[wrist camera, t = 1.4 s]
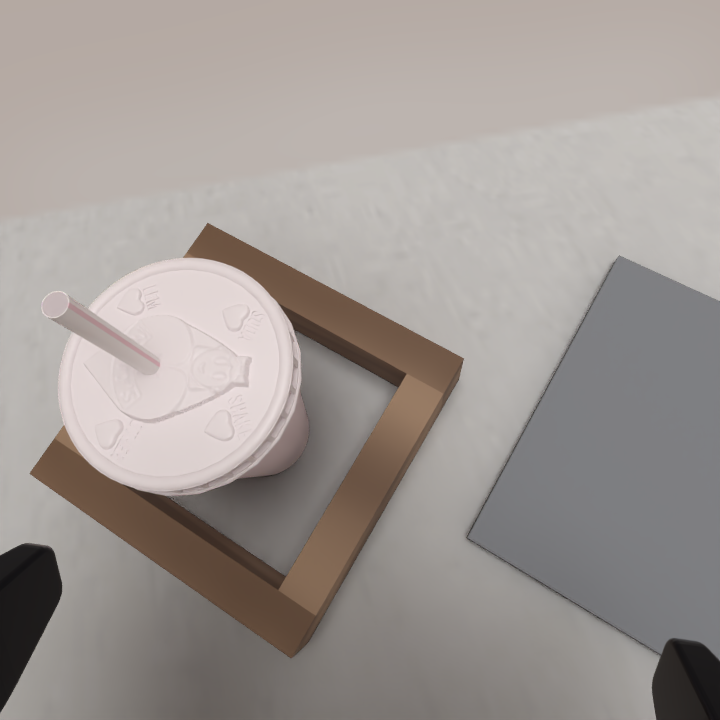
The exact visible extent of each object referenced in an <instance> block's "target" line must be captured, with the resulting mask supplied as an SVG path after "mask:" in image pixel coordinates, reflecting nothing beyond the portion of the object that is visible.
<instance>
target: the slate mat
mask: <svg viewBox="0 0 720 720" xmlns="http://www.w3.org/2000/svg"><path fill="white" fill-rule="evenodd" d="M467 538H468V539H470V540H471V541H473V542H474V543H476V544H478V545H479V546H481V547H483V548H484V549H486V550H488V551H489V552H491V553H493V554H494V555H496V556H498V557H499V558H501V559H503V560H504V561H506V562H508V563H509V564H511V565H513V566H514V567H516V568H518V569H519V570H521V571H523V572H524V573H526V574H528V575H529V576H531V577H532V578H534V579H536V580H537V581H539V582H541V583H542V584H544V585H546V586H547V587H549V588H551V589H552V590H554V591H556V592H557V593H559V594H561V595H562V596H564V597H566V598H567V599H569V600H571V601H572V602H574V603H576V604H577V605H579V606H581V607H582V608H584V609H585V610H587V611H589V612H590V613H592V614H594V615H595V616H597V617H599V618H600V619H602V620H604V621H605V622H607V623H609V624H610V625H612V626H614V627H615V628H617V629H619V630H620V631H622V632H624V633H625V634H627V635H629V636H630V637H632V638H634V639H635V640H637V641H638V642H640V643H642V644H643V645H645V646H647V647H648V648H650V649H652V650H653V651H655V652H657V653H658V654H660V655H661V654H662V651H663V648H664V646H665V644H666V642H667V641H668V640H669V639H670V638H678V639H685V640H692V641H698V642H700V643H702V644H704V645H705V646H706V647H707V648H709V650H710V651H711V652H712V653H713V654H714V655H715V656H716V657H717V658H718V659H719V660H720V301H718V300H716V299H713V298H711V297H709V296H707V295H705V294H702V293H700V292H698V291H696V290H694V289H691V288H689V287H687V286H685V285H683V284H681V283H678V282H676V281H674V280H672V279H670V278H667V277H665V276H663V275H661V274H659V273H656V272H654V271H652V270H650V269H648V268H645V267H643V266H641V265H639V264H637V263H635V262H632V261H630V260H628V259H626V258H624V257H621V256H618V258H617V259H616V261H615V262H614V264H613V266H612V268H611V270H610V271H609V273H608V275H607V277H606V279H605V281H604V283H603V284H602V286H601V288H600V290H599V292H598V294H597V296H596V298H595V299H594V301H593V303H592V305H591V307H590V309H589V311H588V312H587V314H586V316H585V318H584V320H583V322H582V324H581V325H580V327H579V329H578V331H577V333H576V335H575V337H574V338H573V340H572V342H571V344H570V346H569V348H568V350H567V351H566V353H565V355H564V357H563V359H562V361H561V363H560V364H559V366H558V368H557V370H556V372H555V374H554V376H553V378H552V379H551V381H550V383H549V385H548V387H547V389H546V391H545V392H544V394H543V396H542V398H541V400H540V402H539V404H538V405H537V407H536V409H535V411H534V413H533V415H532V417H531V418H530V420H529V422H528V424H527V426H526V428H525V430H524V431H523V433H522V435H521V437H520V439H519V441H518V443H517V445H516V446H515V448H514V450H513V452H512V454H511V456H510V458H509V459H508V461H507V463H506V465H505V467H504V469H503V471H502V472H501V474H500V476H499V478H498V480H497V482H496V484H495V485H494V487H493V489H492V491H491V493H490V495H489V497H488V498H487V500H486V502H485V504H484V506H483V508H482V510H481V511H480V513H479V515H478V517H477V519H476V521H475V523H474V525H473V526H472V528H471V530H470V532H469V534H468V536H467Z"/></svg>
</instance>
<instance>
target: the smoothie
mask: <svg viewBox="0 0 720 720" xmlns="http://www.w3.org/2000/svg"><path fill="white" fill-rule="evenodd" d="M41 309H42V312H43V314H44V315H45V316H47V317H48V318H50V319H52V320H53V321H55V322H57V323H58V324H60V325H62V326H63V327H65V328H67V329H69V330H70V331H72V333H71V335H70V337H69V339H68V341H67V344H66V347H65V350H64V353H63V356H62V360H61V365H60V371H59V380H58V398H59V405H60V411H61V415H62V419H63V422H64V425H65V428H66V430H67V432H68V434H69V436H70V438H71V440H72V442H73V443H74V445H75V447H76V448H77V450H78V451H79V452H80V453H81V455H82V456H83V457H84V458H85V459H86V460H87V461H88V462H89V463H90V464H91V465H92V466H93V467H94V468H96V469H97V470H98V471H99V472H101V473H102V474H104V475H105V476H107V477H109V478H110V479H112V480H115V481H117V482H119V483H121V484H124V485H127V486H130V487H133V488H135V489H137V490H140V491H145V492H150V493H154V494H159V495H164V496H179V495H192V494H201V493H204V492H206V491H209V490H212V489H215V488H218V487H221V486H224V485H226V484H229V483H231V482H233V481H234V480H236V479H239V478H249V477H259V476H269V475H274V474H277V473H280V472H282V471H284V470H286V469H287V468H289V467H290V466H292V465H293V464H294V463H295V462H296V461H297V460H298V459H299V457H300V456H301V455H302V453H303V451H304V449H305V447H306V445H307V442H308V437H309V420H308V416H307V413H306V409H305V406H304V402H303V399H302V395H301V392H300V386H301V382H302V376H301V351H300V348H299V345H298V342H297V338H296V335H295V332H294V329H293V326H292V323H291V322H290V320H289V319H288V317H287V316H286V314H285V313H284V312H283V310H282V309H281V307H280V306H279V304H278V303H277V301H276V300H275V299H274V298H272V297H271V296H270V294H269V293H268V292H267V291H266V290H265V289H264V288H263V287H262V286H261V285H260V284H259V283H258V282H257V281H255V280H254V279H253V278H252V277H250V276H249V275H247V274H245V273H244V272H242V271H240V270H238V269H236V268H234V267H232V266H229V265H227V264H224V263H221V262H217V261H213V260H208V259H201V258H178V259H169V260H165V261H160V262H156V263H153V264H150V265H147V266H144V267H142V268H139V269H137V270H135V271H133V272H131V273H129V274H127V275H126V276H124V277H122V278H121V279H119V280H117V281H116V282H115V283H113V284H112V285H111V286H109V287H108V288H107V289H106V290H105V291H103V292H102V293H101V294H100V295H99V296H98V297H97V298H96V299H95V300H94V301H93V302H92V303H91V304H90V306H89V307H88V308H86V307H84V306H83V305H81V304H80V303H78V302H77V301H76V300H74V299H73V298H71V297H70V296H68V295H67V294H65V293H64V292H61V291H54V292H51V293H49V294H48V295H47V296H46V297H45V298H44V300H43V301H42V305H41Z"/></svg>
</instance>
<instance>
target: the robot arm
mask: <svg viewBox="0 0 720 720" xmlns="http://www.w3.org/2000/svg"><path fill="white" fill-rule="evenodd" d="M61 594H62V581H61V577H60V573H59V569H58V565H57V561H56V557H55V553H54V551H53V549H52V548H51V547H49V546H45V545H39V544H32V543H25V544H21V545H19V546H17V547H15V548H13V549H11V550H10V551H8V552H6V553H4V554H2V555H0V712H1V711H2V709H3V707H4V706H5V704H6V702H7V701H8V699H9V697H10V695H11V694H12V692H13V690H14V688H15V686H16V685H17V683H18V681H19V679H20V677H21V675H22V673H23V671H24V669H25V667H26V665H27V663H28V661H29V659H30V657H31V655H32V653H33V652H34V650H35V648H36V646H37V644H38V642H39V640H40V638H41V636H42V634H43V632H44V630H45V628H46V626H47V624H48V622H49V620H50V618H51V616H52V614H53V612H54V611H55V609H56V607H57V605H58V603H59V600H60V597H61ZM652 695H653V702H654V708H655V714H656V720H720V660H719V659H718V658H717V657H716V656H715V655H714V654H713V653H712V652H711V651H710V650H709V648H707V647H706V646H705V645H704V644H702V643H700V642H698V641H692V640H685V639H678V638H670V639H669V640H668V641H667V642H666V644H665V646H664V648H663V651H662V654H661V657H660V660H659V662H658V665H657V668H656V671H655V673H654V677H653V682H652Z"/></svg>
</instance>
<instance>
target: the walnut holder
mask: <svg viewBox="0 0 720 720" xmlns="http://www.w3.org/2000/svg"><path fill="white" fill-rule="evenodd" d="M183 258H201V259H208V260H213V261H217V262H221V263H224V264H227V265H229V266H232V267H234V268H236V269H238V270H240V271H242V272H244V273H245V274H247V275H249V276H250V277H252V278H253V279H254V280H255V281H257V282H258V283H259V284H260V285H261V286H262V287H263V288H264V289H265V290H266V291H267V292H268V293H269V294H270V296H271V297H272V298H274V299H275V300H276V301H277V303H278V304H279V306H280V307H281V309H282V310H283V312H284V313H285V314H286V316H287V317H288V319H289V320H290V322H291V323H292V326H293V329H295V330H297V331H298V332H300V333H302V334H304V335H306V336H307V337H309V338H311V339H313V340H315V341H316V342H318V343H320V344H322V345H324V346H325V347H327V348H329V349H331V350H333V351H334V352H336V353H338V354H340V355H342V356H343V357H345V358H347V359H349V360H351V361H352V362H354V363H356V364H358V365H360V366H361V367H363V368H365V369H367V370H369V371H370V372H372V373H374V374H376V375H378V376H379V377H381V378H383V379H385V380H387V381H388V382H390V383H392V384H394V385H396V386H397V387H399V388H398V389H397V391H396V393H395V394H394V396H393V398H392V400H391V401H390V403H389V405H388V406H387V408H386V410H385V411H384V413H383V415H382V416H381V418H380V420H379V421H378V423H377V425H376V426H375V428H374V430H373V432H372V433H371V435H370V437H369V438H368V440H367V442H366V443H365V445H364V447H363V448H362V450H361V452H360V453H359V455H358V457H357V458H356V460H355V462H354V463H353V465H352V467H351V469H350V470H349V472H348V474H347V475H346V477H345V479H344V480H343V482H342V484H341V485H340V487H339V489H338V490H337V492H336V494H335V495H334V497H333V499H332V501H331V502H330V504H329V506H328V507H327V509H326V511H325V512H324V514H323V516H322V517H321V519H320V521H319V522H318V524H317V526H316V527H315V529H314V531H313V532H312V534H311V536H310V538H309V539H308V541H307V543H306V544H305V546H304V548H303V549H302V551H301V553H300V554H299V556H298V558H297V559H296V561H295V563H294V564H293V566H292V568H291V570H290V571H289V573H288V575H287V576H286V577H285V576H284V575H282V574H281V573H279V572H278V571H276V570H275V569H273V568H272V567H270V566H269V565H267V564H266V563H264V562H263V561H261V560H260V559H258V558H257V557H255V556H254V555H252V554H251V553H249V552H248V551H246V550H245V549H244V548H242V547H241V546H239V545H238V544H236V543H235V542H233V541H232V540H230V539H229V538H227V537H226V536H224V535H223V534H221V533H220V532H218V531H217V530H215V529H214V528H212V527H211V526H209V525H208V524H206V523H205V522H203V521H202V520H200V519H199V518H197V517H196V516H194V515H193V514H191V513H190V512H188V511H187V510H185V509H184V508H182V507H181V506H179V505H178V504H176V503H175V502H173V501H172V500H170V499H169V498H167V497H166V496H164V495H159V494H154V493H150V492H145V491H140V490H137V489H135V488H133V487H130V486H127V485H124V484H121V483H119V482H117V481H115V480H112V479H110V478H109V477H107V476H105V475H104V474H102V473H101V472H99V471H98V470H97V469H96V468H94V467H93V466H92V465H91V464H90V463H89V462H88V461H87V460H86V459H85V458H84V457H83V456H82V455H81V453H80V452H79V451H78V450H77V448H76V447H75V445H74V443H73V442H72V440H71V438H70V436H69V434H68V432H67V430H66V428H65V425H64V426H63V427H62V429H61V430H60V431H59V433H58V434H57V436H56V437H55V438H54V440H53V441H52V443H51V444H50V445H49V447H48V448H47V450H46V451H45V452H44V454H43V455H42V457H41V458H40V460H39V461H38V462H37V464H36V465H35V467H34V468H33V469H32V471H31V472H30V474H31V475H32V476H34V477H35V478H36V479H38V480H39V481H41V482H42V483H43V484H45V485H46V486H48V487H49V488H50V489H52V490H53V491H55V492H56V493H58V494H59V495H60V496H62V497H63V498H65V499H66V500H67V501H69V502H70V503H72V504H73V505H75V506H76V507H77V508H79V509H80V510H82V511H83V512H84V513H86V514H87V515H89V516H90V517H92V518H93V519H94V520H96V521H97V522H99V523H100V524H101V525H103V526H104V527H106V528H107V529H109V530H110V531H111V532H113V533H114V534H116V535H117V536H118V537H120V538H121V539H123V540H124V541H126V542H127V543H128V544H130V545H131V546H133V547H134V548H135V549H137V550H138V551H140V552H141V553H143V554H144V555H145V556H147V557H148V558H150V559H151V560H152V561H154V562H155V563H157V564H158V565H160V566H161V567H162V568H164V569H165V570H167V571H168V572H169V573H171V574H172V575H174V576H175V577H177V578H178V579H179V580H181V581H182V582H184V583H185V584H186V585H188V586H189V587H191V588H192V589H194V590H195V591H196V592H198V593H199V594H201V595H202V596H203V597H205V598H206V599H208V600H209V601H211V602H212V603H213V604H215V605H216V606H218V607H219V608H220V609H222V610H223V611H225V612H226V613H228V614H229V615H230V616H232V617H233V618H235V619H236V620H237V621H239V622H240V623H242V624H243V625H245V626H246V627H247V628H249V629H250V630H252V631H253V632H254V633H256V634H257V635H259V636H260V637H262V638H263V639H264V640H266V641H267V642H269V643H270V644H271V645H273V646H274V647H276V648H277V649H279V650H280V651H281V652H283V653H284V654H286V655H287V656H288V657H290V658H292V657H293V656H294V655H295V654H297V653H298V652H299V651H300V650H301V649H302V648H303V647H304V646H305V645H306V644H307V643H308V642H309V640H310V638H311V637H312V635H313V633H314V631H315V630H316V628H317V626H318V624H319V623H320V621H321V619H322V617H323V616H324V614H325V612H326V610H327V609H328V607H329V605H330V603H331V602H332V600H333V598H334V596H335V595H336V593H337V591H338V589H339V588H340V586H341V584H342V582H343V581H344V579H345V577H346V575H347V574H348V572H349V570H350V568H351V567H352V565H353V563H354V561H355V560H356V558H357V556H358V554H359V553H360V551H361V549H362V548H363V546H364V544H365V542H366V541H367V539H368V537H369V535H370V534H371V532H372V530H373V528H374V527H375V525H376V523H377V521H378V520H379V518H380V516H381V514H382V513H383V511H384V509H385V507H386V506H387V504H388V502H389V500H390V499H391V497H392V495H393V493H394V492H395V490H396V488H397V486H398V485H399V483H400V481H401V479H402V478H403V476H404V474H405V472H406V471H407V469H408V467H409V465H410V464H411V462H412V460H413V458H414V457H415V455H416V453H417V452H418V450H419V448H420V446H421V445H422V443H423V441H424V439H425V438H426V436H427V434H428V432H429V431H430V429H431V427H432V425H433V424H434V422H435V420H436V418H437V417H438V415H439V413H440V411H441V410H442V408H443V406H444V404H445V403H446V401H447V399H448V397H449V396H450V394H451V392H452V390H453V389H454V387H455V385H456V383H457V382H458V380H459V377H460V372H461V368H462V364H463V360H464V358H462V357H460V356H458V355H456V354H454V353H452V352H450V351H449V350H447V349H445V348H443V347H441V346H439V345H437V344H435V343H433V342H432V341H430V340H428V339H426V338H424V337H422V336H420V335H418V334H416V333H415V332H413V331H411V330H409V329H407V328H405V327H403V326H401V325H399V324H398V323H396V322H394V321H392V320H390V319H388V318H386V317H384V316H382V315H381V314H379V313H377V312H375V311H373V310H371V309H369V308H367V307H365V306H364V305H362V304H360V303H358V302H356V301H354V300H352V299H350V298H348V297H347V296H345V295H343V294H341V293H339V292H337V291H335V290H333V289H331V288H330V287H328V286H326V285H324V284H322V283H320V282H318V281H316V280H314V279H313V278H311V277H309V276H307V275H305V274H303V273H301V272H299V271H297V270H296V269H294V268H292V267H290V266H288V265H286V264H284V263H282V262H280V261H279V260H277V259H275V258H273V257H271V256H269V255H267V254H265V253H263V252H262V251H260V250H258V249H256V248H254V247H252V246H250V245H248V244H246V243H245V242H243V241H241V240H239V239H237V238H235V237H233V236H231V235H229V234H228V233H226V232H224V231H222V230H220V229H218V228H216V227H214V226H212V225H211V224H209V223H207V225H206V226H205V228H204V229H203V230H202V232H201V233H200V235H199V236H198V238H197V239H196V240H195V242H194V243H193V245H192V246H191V247H190V249H189V250H188V252H187V253H186V254H185V256H184V257H183Z"/></svg>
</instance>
